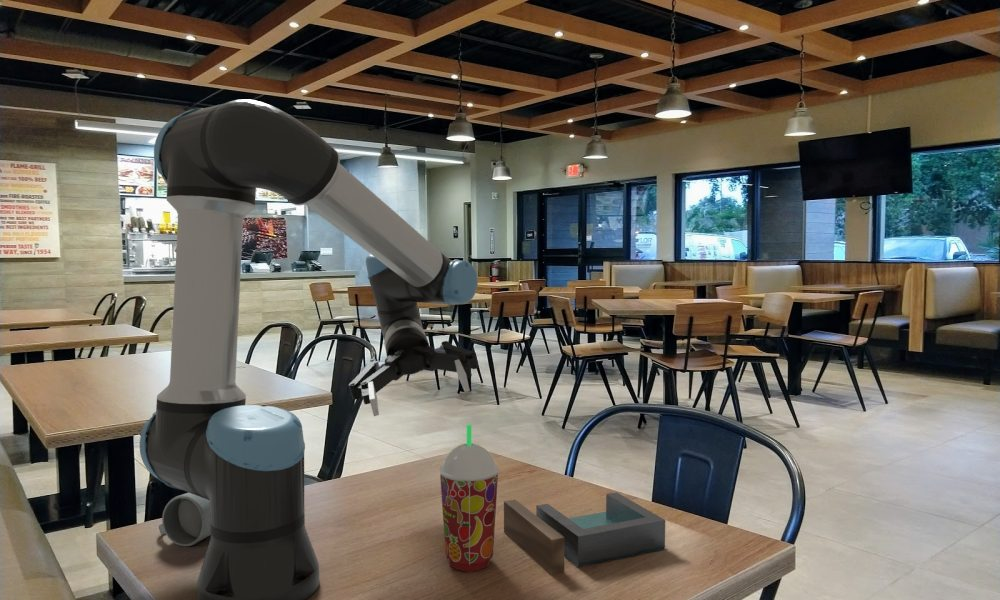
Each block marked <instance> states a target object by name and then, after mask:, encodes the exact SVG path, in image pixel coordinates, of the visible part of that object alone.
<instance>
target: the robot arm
mask: <svg viewBox="0 0 1000 600" xmlns="http://www.w3.org/2000/svg"><path fill="white" fill-rule="evenodd" d="M153 157H154V163H155V168H156V170H157V172H158V174H159V175H161V176H162V178H163V181H164V182H165V183H166V201H167V202H168V204H170V206H171V207H172V208H174V209H173V210H175V211H176V214H177V229H176V230H177V231H176V232H177V233H176V248H175V249H176V250H175V252H176V253H175V268H174V271H175V272H174V292H173V308H172V309H173V311H172V329H171V330H172V332H171V333H172V334H171V351H170V352H171V353H170V372H169V373H170V374H169V383H168V385H167V386H166V387H165V388H164V389H162V390H161V392H160V393H158V394H157V395H156V404H155V405H156V407H155V408H156V409H155V411H154V412H153V413H152V415H151V416H150V418H149V420H147V421H145V424H144V426H143V427H142V430H141V434H140V437H139V455H140V457H141V461H142V463H143V465H144V466H145V469H147V471H148V473H150V474H151V475H152V476H153V477H155V479H157V480H159V481H160V482H162V483H164V485H166V486H167V487H170V488H173V489H174V490H181V491H184V492H185V493H186V492H187V493H188V492H189V493H191V494H194V495H197V496H199V497H202V498H205V499H208V500H209V501H210V531H211V535H210V536H209V537H210V538H209V542H208V546H207V549H206V551H205V555H204V559H203V562H202V565H201V568H200V570H199V571H200V572H199V574H198V577H197V581H196V600H307V599H309V598H310V597H311V596H312V595H313V594H314V593H315V592H316V591H317V589H318V587H319V585H320V565H319V560H318V558H317V555H316V552H315V549H314V548H313V547H314V546H313V544H312V541H311V539H310V536H309V533H308V531H307V528H306V522H305V521H306V520H305V519H306V515H305V514H306V513H305V509H306V508H305V450H306V444H305V440H304V439H305V438H304V431H303V425H302V422H301V420H300V419H299V418H298V416H297V415H295V414H294V413H293V412H291V411H289V410H286V409H283V408H280V407H277V406H272V405H266V406H262V405H260V404H246V400H247V399H246V398H247V397H246V396H247V395H246V393H245V392H244V391H243V390H242V389H241V388H240V387H239V386H238V385H237V383H236V374H237V355H238V354H237V353H238V334H239V333H238V332H239V313H240V311H239V310H240V308H239V307H240V295H241V294H240V291H241V270H242V269H241V268H242V254H243V253H242V252H243V251H242V250H243V249H242V247H243V232H244V231H243V229H244V220H245V217H247V216H248V215H249V214H250V213H251V212H252V211H254V210H255V209H256V195H257V194H256V193H257V189H262V190H266V191H270V192H272V193H275V194H278V195H279V196H281V197H283V198H285V200H287V201H288V202H290V203H291V204H292V205H295V206H304V205H306V206H307V207H308V208H309V209H311V210H313V212H315V213H316V214H318V216H320V217H321V218H323V219H324V220H325V221H327V222H328V223H329V224H330V225H332V226H333V227H335V228H336V229H337V230H338V231H340V232H341V233H342V234H344V235H345V236H347V237H348V238H349V239H351V241H353V242H354V243H355V244H357V245H359V247H361V248H362V249H364V251H366V252H367V253H369V254H368V255H367V256H366V257H365V265H366V269H367V270H366V271H367V278H368V281H369V283H370V284H369V285H370V288H371V291H372V292H371V293H372V295H373V300H374V302H375V303H374V304H375V307H376V310H377V313H376V314H377V316H378V319H379V320H378V321H379V325H380V330H381V334H382V336H383V341H384V347H385V354H386V358H385V359H384V361H378V360H376V358H371V359H369V360H368V362H367V365H366V366H365V367H364V368H363V369H362V371H360V372H359V373H358V374H357V376H355V378H354V379H352V381H351V382H349V384H348V387H349V389H350V390H349V391H350V394H351V398H352V400H354V401H356V400H359V399H360V398H361V397H362V401H363V403H364V405H369V404H370V406H371V411H372V415H373V417H377V416H380V411H379V403H378V397H377V393H378V392H379V391H381V390H382V389H383V388H384V387H386V386H387V385H389V384H390V383H391V382H392V381H398V380H399V379H401V378H402V377H404V376H406V375H413V374H414V375H415V374H417V373H419V372H422V371H429V372H434V371H436V370H439V371H445V372H446V371H447V372H450V373H451V372H452V373H456V374H457V377H458V380H459V382H460V384H461V386H462V389H463V392H464V393H468V392H470V391H471V389H470V386H469V381H468V379H469V378H472V376H473V374H472V370H476V369H478V368H479V360H478V356H477V352H475V351H472V350H469V349H466V348H463V347H460V346H457V345H454V344H451V343H450V342H449V341H448V340H444V341H442V342H441V343H440V346H439V347H436V348H434V347H433V346H430V343H429V340H428V337H427V335H426V333H425V330H424V328H423V324H422V320H421V315H420V311H419V310H420V309H419V306H418V303H422V304H423V303H425V304H437V305H448V306H452V305H465V304H468V303H469V302H470V301H472V300H473V298H474V296H475V295H476V292H477V288H478V283H479V282H478V273H477V270H476V269H475V267H474V265H473V264H472V263H470V262H469V261H465V260H460V259H454V260H452V259H450V258H448V257H447V256H445V254H444V253H442V252H441V251H440V250H439V249H438V248H436V246H435V245H433V244H432V243H431V242H430V241H429V240H427V239H426V238H425V237H424V236H423V235H422V234H421V233H420V232H418V231H417V230H416V229H415V228H414V227H412V225H410V224H409V223H408V222H407V221H406V220H405V219H404V218H402V217H401V216H400V215H399V214H398V213H397V212H396V211H395V210H394V209H392V208H391V207H390V206H389V205H387V203H385V202H384V201H383V200H382V199H381V198H380V197H379V196H377V195H376V194H375V193H374V192H373V191H371V189H370V188H368V187H367V186H366V185H365V184H364V183H363V182H361V181H360V180H359V179H358V178H357V177H356V176H355V175H353V174H352V173H351V172H350V171H349V170H347V169H346V168H345V167H344V166H343V165H342V164H341V163H340V162H341V161H340V160H341V159H340V154H339V152H338V151H337V150H336V149H335V148H333V146H331V145H330V144H329V143H328V142H327V141H326V140H325V139H324V138H322V137H321V136H320V135H319V134H317V133H316V132H315V131H314V130H312V129H311V128H310V127H308V126H307V125H306V124H304V123H303V122H301V121H300V120H298V119H297V118H295V117H294V116H292V115H291V114H288V113H287V112H285V111H283V110H281V109H280V108H278V107H275V106H273V105H271V104H268V103H265V102H263V101H258V100H255V99H235V100H231V101H227V102H225V103H222V104H217V105H213V106H208V107H204V108H201V107H199V108H194V109H190V110H187V111H185V112H184V111H183V112H182V113H181V114H179V115H177V116H175V117H173V118H171V119H169V120H168V121H167V122H166V123H165V124H164V125H163V126H162V127H161V129H160V130H159V132H158V134H157V136H156V139H155V142H154V147H153Z"/></svg>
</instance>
